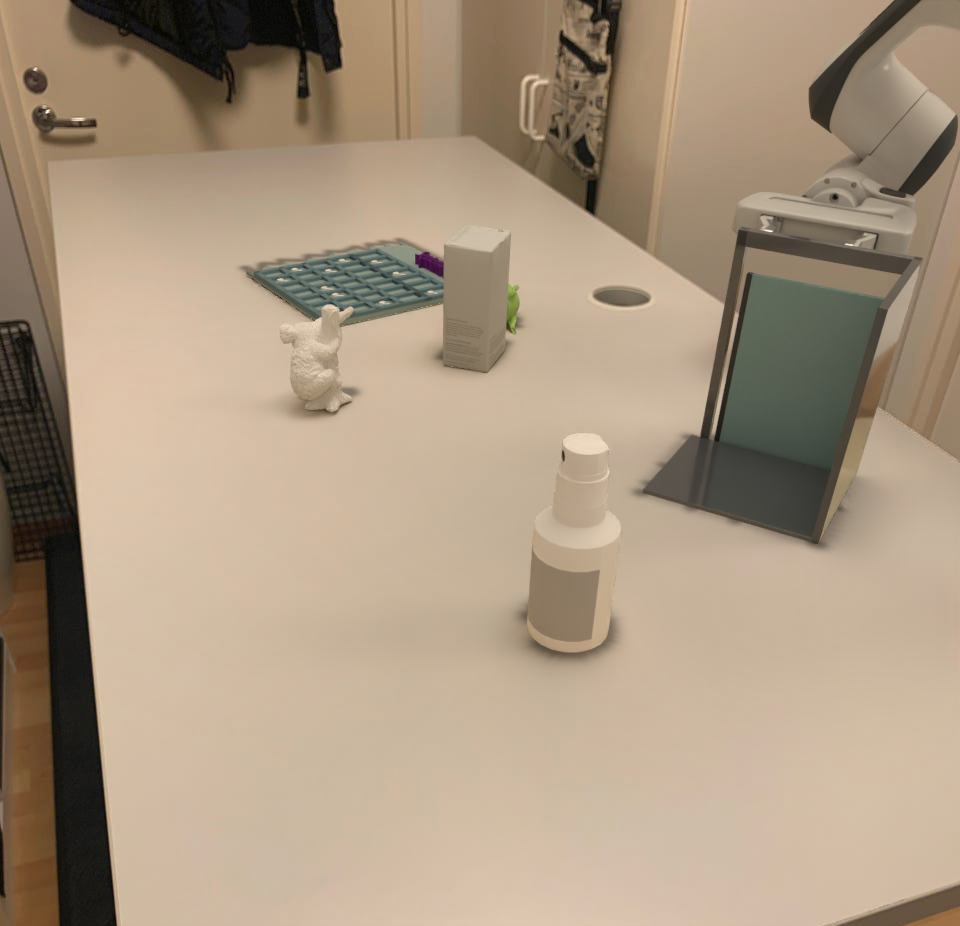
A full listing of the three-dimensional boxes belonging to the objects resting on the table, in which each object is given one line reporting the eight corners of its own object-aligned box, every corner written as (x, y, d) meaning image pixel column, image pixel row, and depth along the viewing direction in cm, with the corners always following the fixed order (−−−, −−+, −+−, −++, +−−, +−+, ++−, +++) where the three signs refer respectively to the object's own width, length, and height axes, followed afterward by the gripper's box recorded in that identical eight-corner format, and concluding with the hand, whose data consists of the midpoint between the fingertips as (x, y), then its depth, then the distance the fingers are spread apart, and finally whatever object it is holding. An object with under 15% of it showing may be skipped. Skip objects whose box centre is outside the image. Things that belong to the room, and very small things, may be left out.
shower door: (847, 456, 104) (899, 282, 92) (834, 478, 100) (887, 300, 88) (729, 426, 109) (764, 257, 97) (712, 446, 105) (746, 273, 93)
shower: (853, 484, 100) (923, 257, 86) (815, 553, 90) (888, 309, 75) (693, 441, 107) (732, 225, 92) (640, 501, 97) (675, 268, 82)
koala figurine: (360, 393, 115) (353, 294, 108) (360, 417, 110) (353, 316, 103) (290, 394, 115) (279, 295, 107) (287, 419, 109) (275, 317, 102)
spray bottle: (518, 615, 82) (529, 425, 70) (594, 608, 83) (617, 419, 71) (536, 666, 76) (551, 469, 65) (617, 658, 77) (645, 462, 66)
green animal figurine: (472, 330, 132) (473, 289, 128) (479, 316, 136) (480, 276, 132) (516, 334, 131) (518, 292, 127) (521, 320, 135) (523, 279, 132)
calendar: (245, 275, 148) (243, 260, 146) (398, 245, 161) (398, 231, 159) (327, 330, 131) (325, 314, 130) (491, 292, 144) (491, 276, 142)
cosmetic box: (463, 343, 128) (464, 223, 118) (509, 350, 126) (514, 229, 117) (440, 366, 122) (440, 241, 112) (489, 374, 120) (492, 248, 110)
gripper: (756, 171, 116) (721, 200, 106) (930, 198, 108) (908, 231, 99) (746, 225, 120) (711, 257, 111) (913, 254, 112) (890, 291, 103)
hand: (805, 245), depth 105 cm, fingers open, 8 cm apart
